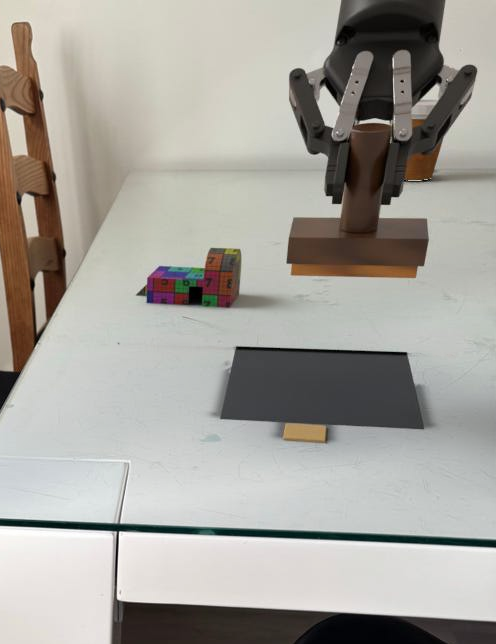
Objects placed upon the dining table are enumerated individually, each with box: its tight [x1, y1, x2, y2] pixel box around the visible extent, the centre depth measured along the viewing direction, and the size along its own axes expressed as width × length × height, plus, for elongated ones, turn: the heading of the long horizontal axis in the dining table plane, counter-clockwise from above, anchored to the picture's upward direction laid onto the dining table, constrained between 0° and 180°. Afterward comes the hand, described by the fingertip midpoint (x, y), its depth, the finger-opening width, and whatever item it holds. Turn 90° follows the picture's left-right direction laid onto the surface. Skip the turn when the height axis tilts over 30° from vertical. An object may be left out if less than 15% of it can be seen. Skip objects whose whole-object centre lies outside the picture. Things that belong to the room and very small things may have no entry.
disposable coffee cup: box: [405, 99, 444, 180], centre depth 173 cm, size 10×10×12 cm
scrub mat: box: [219, 345, 425, 430], centre depth 90 cm, size 16×21×1 cm
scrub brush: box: [286, 122, 430, 279], centre depth 75 cm, size 10×5×10 cm, turn 74°
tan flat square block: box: [282, 422, 327, 444], centre depth 80 cm, size 3×3×1 cm
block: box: [135, 247, 242, 309], centre depth 113 cm, size 12×8×7 cm
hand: (362, 197), depth 73 cm, fingers closed on scrub brush, 3 cm apart
